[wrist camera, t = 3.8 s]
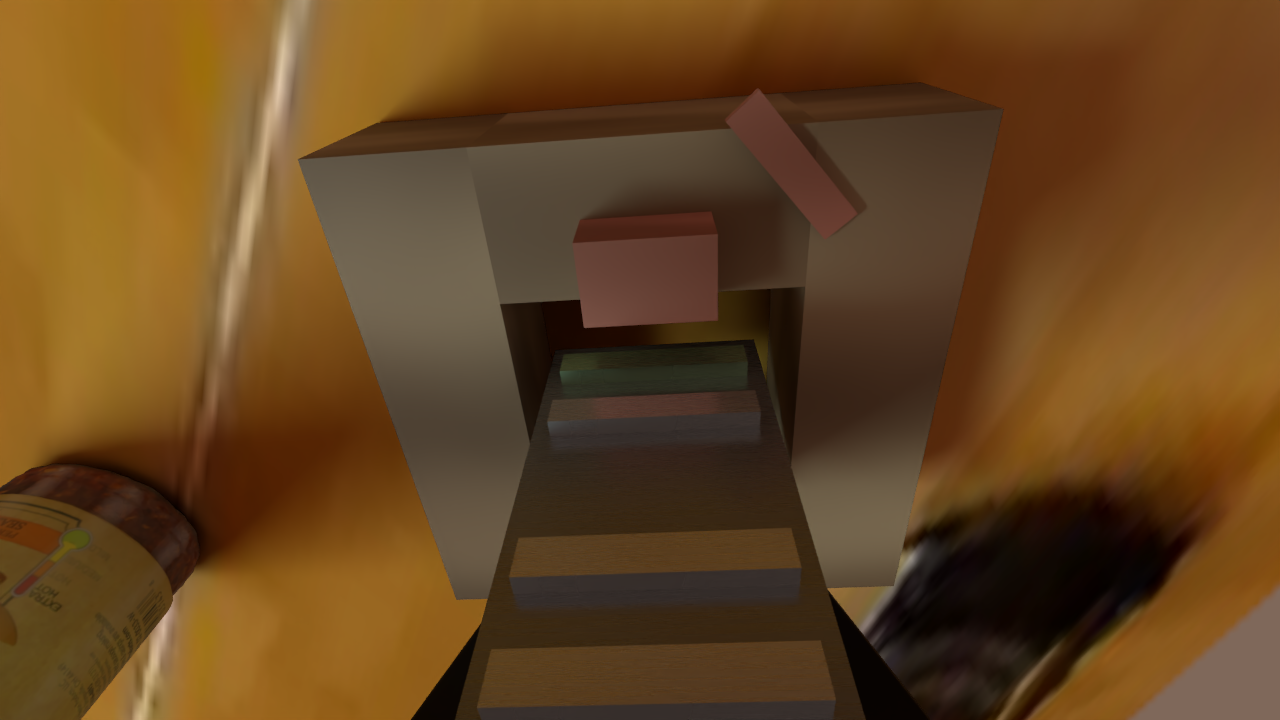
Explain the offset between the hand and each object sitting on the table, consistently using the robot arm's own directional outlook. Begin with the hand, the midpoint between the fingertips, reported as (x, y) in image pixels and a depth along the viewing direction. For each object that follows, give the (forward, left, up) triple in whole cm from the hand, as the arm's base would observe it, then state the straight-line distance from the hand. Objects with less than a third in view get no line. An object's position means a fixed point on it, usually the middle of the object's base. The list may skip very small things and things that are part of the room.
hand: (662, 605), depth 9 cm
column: (0, 0, -4) cm, 4 cm away
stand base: (0, 0, -8) cm, 8 cm away
